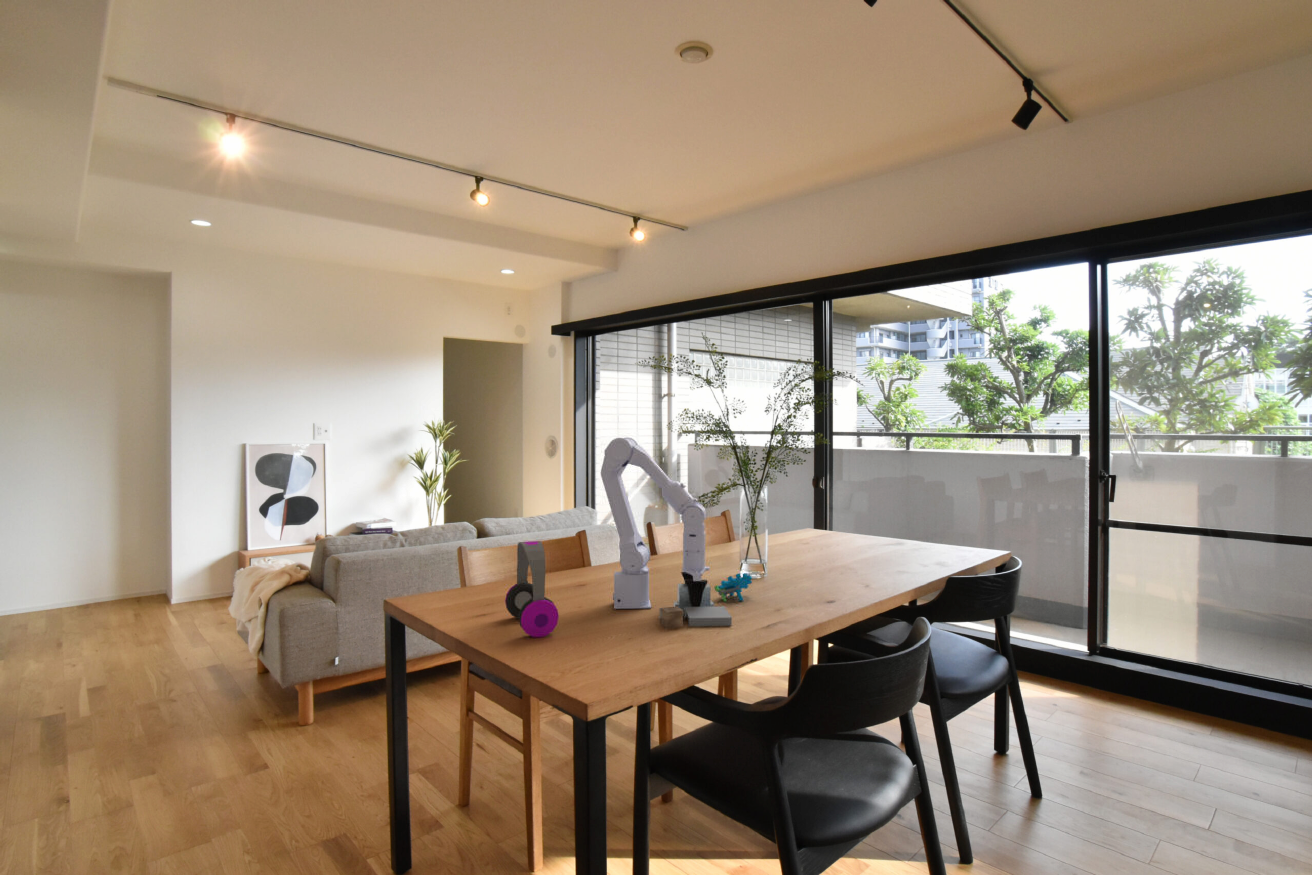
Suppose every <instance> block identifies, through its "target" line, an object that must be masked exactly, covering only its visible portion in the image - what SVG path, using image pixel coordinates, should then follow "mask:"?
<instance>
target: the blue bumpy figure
mask: <svg viewBox="0 0 1312 875" xmlns="http://www.w3.org/2000/svg"><path fill="white" fill-rule="evenodd" d="M734 576H735V577H733V576H731V575H730V576H729V577H727V580H722V581H721V582H720V584H721V585H720V584H719V585H715V586H714V587H713V588H714V590H715V592H716V593H718V596H721V599H722V600H723V602H724V603H726V602H727V598H726V597H727V596H728V594H729V596H730V595H732V596H734V595H735V593H736V595H737V597H738V600H739V602H742V601H744V598H743V596H742V592H743V590H744V589H748V588H749V585H750V584H752V582H753V581H752V580H753V577H752V575H750V574H748V573H747V572H744V573H742V575H741V573H740V572H739V573H736V574H735V575H734ZM742 589H743V590H742Z"/></svg>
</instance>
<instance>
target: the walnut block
mask: <svg viewBox="0 0 1312 875" xmlns="http://www.w3.org/2000/svg"><path fill="white" fill-rule="evenodd" d="M660 608H661V620H660V624H661V626H662V627H664V628H665V629H667V630H668V629H679V628H681V627H682V628H683V627H684V620H683V612H684V611H683V610H681V609H680V608H678V607H677V606H676V607H674V606H666V607H660Z"/></svg>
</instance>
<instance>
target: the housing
mask: <svg viewBox="0 0 1312 875" xmlns="http://www.w3.org/2000/svg"><path fill="white" fill-rule="evenodd" d="M676 606H677V607H678V608H680V609H681V610H683V612H685V607H692V606H691V603H690V596H689V590H688V587H687V584H685V583H677V600H674V601H673V607H676ZM700 607H715V604H714V602H713V600H711V586H710V584H709V583H708V582H707V585H706V586H705V589H704V591H703V595H702V600H701V605H700Z"/></svg>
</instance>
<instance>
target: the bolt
mask: <svg viewBox="0 0 1312 875" xmlns="http://www.w3.org/2000/svg"><path fill="white" fill-rule="evenodd" d="M661 608H662V607H659V617H658V618H659V621H661ZM684 620H686V617H685V611H683V621H684Z"/></svg>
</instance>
